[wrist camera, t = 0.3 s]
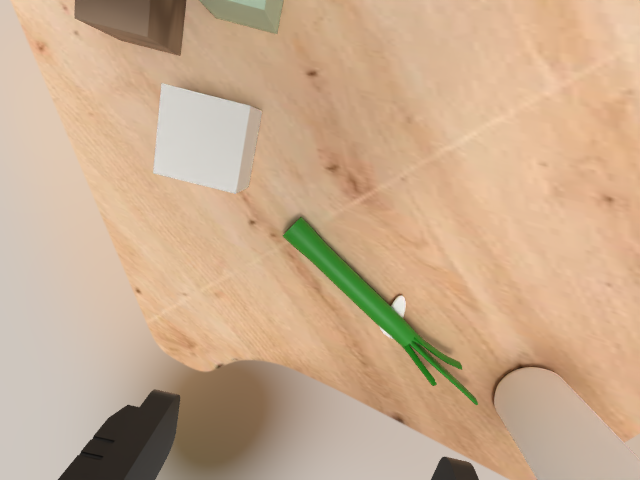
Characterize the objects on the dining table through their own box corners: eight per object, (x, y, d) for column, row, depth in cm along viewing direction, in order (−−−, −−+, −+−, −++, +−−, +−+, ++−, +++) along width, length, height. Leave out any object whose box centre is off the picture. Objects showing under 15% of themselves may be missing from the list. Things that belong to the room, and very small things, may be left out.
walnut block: (125, -31, 31) (76, -71, 25) (188, -14, 31) (154, -50, 25) (120, 40, 32) (74, 18, 27) (180, 55, 32) (147, 37, 27)
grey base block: (186, 91, 33) (161, 83, 29) (262, 111, 34) (250, 105, 29) (177, 169, 36) (153, 173, 31) (249, 187, 36) (235, 193, 31)
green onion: (283, 234, 38) (454, 399, 42) (277, 241, 35) (463, 419, 38) (312, 205, 37) (485, 376, 40) (308, 209, 34) (497, 395, 37)
